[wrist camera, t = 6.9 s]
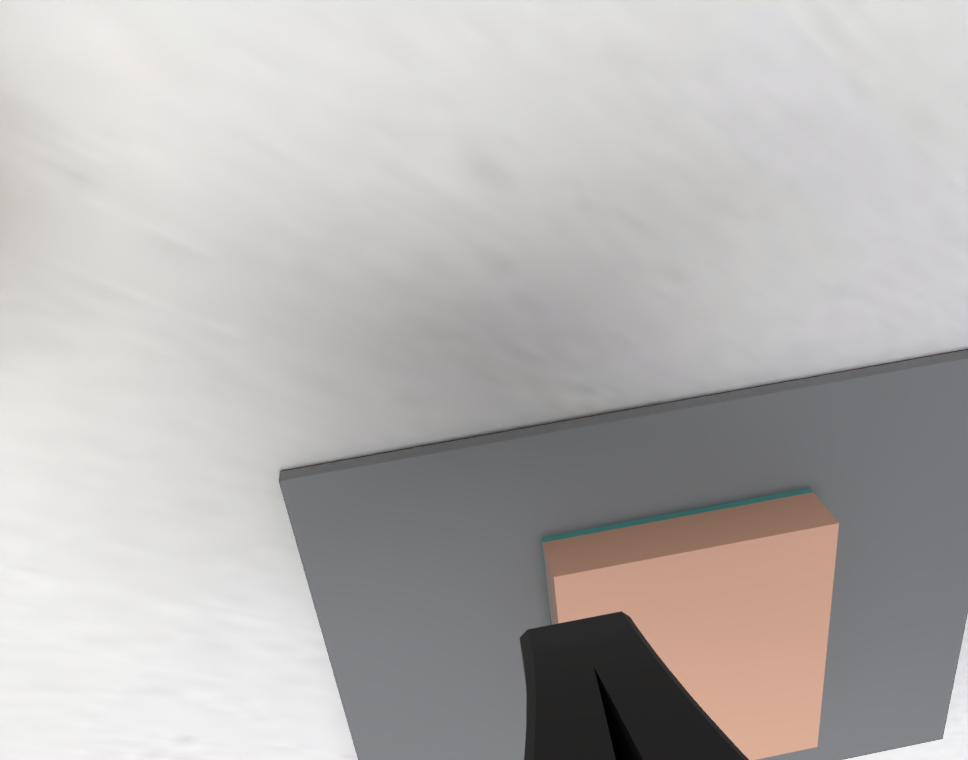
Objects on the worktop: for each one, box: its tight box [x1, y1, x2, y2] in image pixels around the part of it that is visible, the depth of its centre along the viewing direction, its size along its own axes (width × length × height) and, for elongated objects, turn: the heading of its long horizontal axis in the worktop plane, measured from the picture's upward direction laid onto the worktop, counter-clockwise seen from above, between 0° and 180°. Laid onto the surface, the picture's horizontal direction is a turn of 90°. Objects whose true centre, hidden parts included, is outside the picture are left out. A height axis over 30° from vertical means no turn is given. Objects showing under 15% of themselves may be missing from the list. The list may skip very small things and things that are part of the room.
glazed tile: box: [541, 488, 839, 760], centre depth 23 cm, size 2×8×7 cm
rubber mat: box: [279, 350, 968, 760], centre depth 24 cm, size 18×14×1 cm
